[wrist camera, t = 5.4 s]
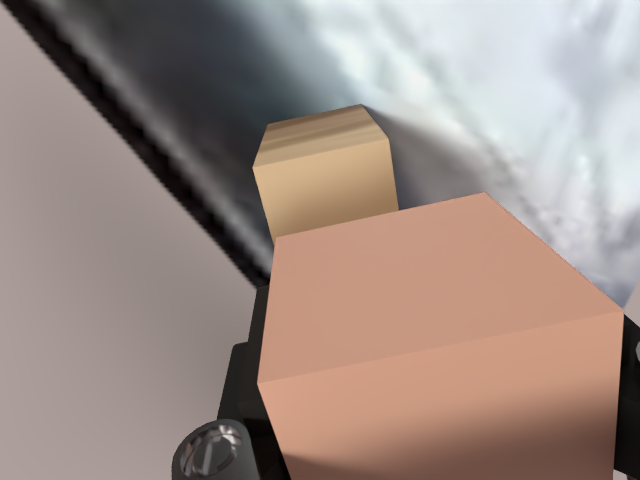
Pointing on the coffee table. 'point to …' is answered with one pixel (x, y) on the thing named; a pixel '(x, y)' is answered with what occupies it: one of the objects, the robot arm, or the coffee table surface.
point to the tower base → (315, 122)
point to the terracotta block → (438, 351)
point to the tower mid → (325, 177)
